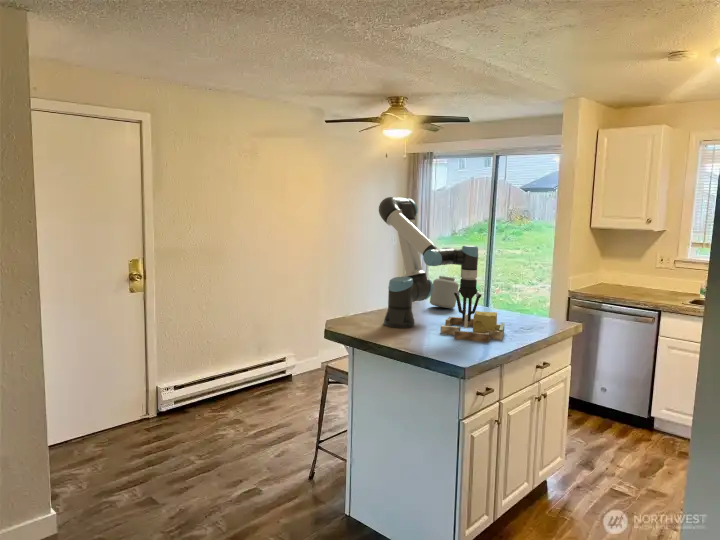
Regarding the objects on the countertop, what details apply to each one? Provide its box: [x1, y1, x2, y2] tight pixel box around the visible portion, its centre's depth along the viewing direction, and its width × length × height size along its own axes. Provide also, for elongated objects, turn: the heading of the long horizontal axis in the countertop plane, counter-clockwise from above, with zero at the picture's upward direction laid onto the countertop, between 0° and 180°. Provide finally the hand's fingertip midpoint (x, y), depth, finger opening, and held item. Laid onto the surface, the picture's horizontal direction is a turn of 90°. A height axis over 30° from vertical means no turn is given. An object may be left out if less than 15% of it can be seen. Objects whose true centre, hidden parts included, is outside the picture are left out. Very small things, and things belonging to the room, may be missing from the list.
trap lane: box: [440, 316, 505, 343], centre depth 253 cm, size 28×31×4 cm
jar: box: [429, 269, 460, 309], centre depth 310 cm, size 19×15×25 cm
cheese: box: [472, 310, 498, 334], centre depth 251 cm, size 10×11×10 cm
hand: (466, 327), depth 254 cm, fingers closed
